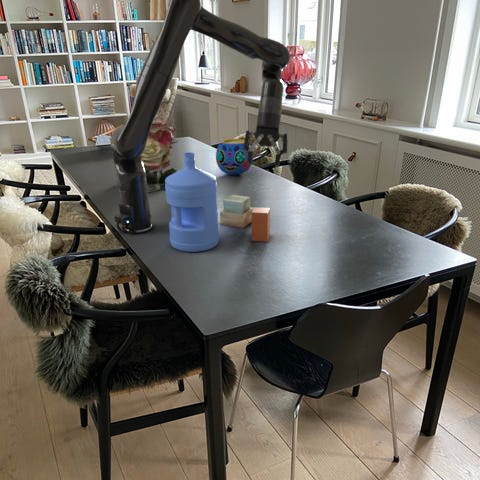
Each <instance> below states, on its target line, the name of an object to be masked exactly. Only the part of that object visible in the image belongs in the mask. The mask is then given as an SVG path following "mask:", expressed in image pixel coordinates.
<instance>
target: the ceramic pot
mask: <svg viewBox="0 0 480 480" xmlns="http://www.w3.org/2000/svg"><path fill="white" fill-rule="evenodd" d="M244 142H245V139H241V138H229V139H224V140H222V141H220V143H219V144H218V145H217V148H216V151H215V161H216V165H217V167H218V168H219V170H220V171H221V172H222V173H225V174H226V175H230V176H239V175H243V174H245V173H246V172H248V171H249V169H250V168H251V165H250V164H249V162H248V153H249V152H248V151H247V150H245V149H244ZM249 147H251V145H250V144H249Z"/></svg>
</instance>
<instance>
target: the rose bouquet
mask: <svg viewBox="0 0 480 480" xmlns="http://www.w3.org/2000/svg"><path fill="white" fill-rule="evenodd" d="M168 121H169V117H166V119H165V118H164V116H160V115H158V114H156V116H155V119H154V121H153V123H152V126H151V130H150V133H149V136H148V139H147V143H146V146H145V149H144V151H143V153H142V155H141V159H142V163H143V166H144V169H145V172H146V180H147V190H148V193H151V192H156V191H160V190H165V180H166V178H167V177H168V176H170V175H172V174H174V173H176V172H178V169H175V167H176V165H174V166H172V167H171V168H169V169H166V168H168V167H170V166H171V160H172V156H173V152H174V147H173V146H172V145H174V144H175V145H176V144H178V142H179V140H178V141H177V140H175V136H174V135H173V134H174V133H175V132H177V131H178V130H177V128H176V127H173V126H171V125H167V122H168ZM164 169H166V170H165V171H163V170H164Z"/></svg>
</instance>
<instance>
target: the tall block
mask: <svg viewBox="0 0 480 480" xmlns="http://www.w3.org/2000/svg"><path fill="white" fill-rule="evenodd" d="M253 208H254V209H253V211H252V222H251V242H267V243H268V241H269V238H270V236H271V235H270V234H271V233H270V232H271V208H270V207H257V206H256V207H253Z"/></svg>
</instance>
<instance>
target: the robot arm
mask: <svg viewBox="0 0 480 480" xmlns="http://www.w3.org/2000/svg"><path fill="white" fill-rule="evenodd" d="M191 31H192V32H196V33H199V34H202V35H204V36H206V37H208V38H211V39H213V40H214V41H216V42H218V43H220V44H222V45H224V46H226V47H228V48H229V49H231V50H233V51H235V52H237V53H239V54H240V55H242V56H244V57H246V58H248V59H250V60H255V59H256V60H260V61H261V80H262V81H261V82H262V84H261V91H260V99H259V102H258V103H259V104H258V108H257V119H256V127H255V131H250V130H246V131H245V136H244V140H245V142H244V149H245V150H247V151H248V152H249V153H248V162H249V164H250V165H253V164H254V152H255V151H256V150H257V149H258V148H259V147H261V148H262V147H263V148H265V147H267V148H272V147H273V150H274V151H275V153H276V154H275V156H274V157H275V158H274V168H278V166H280V164H281V158H282V156H283V155H286V154H287V153H288V143H289V135H288V134H287V133H284V134H282V133H281V134H280V127H281V120H282V119H281V118H282V114H283V111H282V110H283V94H284V89H285V87H284V86H285V85H284V81H283V80H282V71H283V69H285V68H286V67H287V66H288V65H289V63H290V62H291V53H290V51H289V49H288V47H286V45H284V44H283V43H281V42H280V41H277V40H275V39H272V38H269V37H265V36H261V35H259V34H258V33H256V32H254V31H253V30H251V29H249V28H247V27H246V26H245V25H242V24H239V23H237V22H234V21H231V20H228V19H225V18H223V17H221V16H218V15H216V14H214V13H212V12H211V11H209V10H208V9H206V8H204V7H203V6H202V5H201V0H168V3H167V10H166V14H165V17H164V20H163V23H162V26H161V29H160V31H159V34H157V37H156V39H155V41H154V42H153V44H152V46H151V48H150V50H149V52H148V54H147V56H146V58H145V60H144V62H143V64H142V67H141V69H140V72H139V74H138V77H137V80H136V83H135V89H134V95H133V103H132V106H131V110H130V114H129V116H128V118H127V120H126V122H125V124H124V125H120V126H118V127H115V129H114V130H113V131H112V133H111V136H110V138H111V144H110V148H111V153H112V154H111V155H112V158H113V159H112V160H113V165H114V170H115V172H116V173H115V174H116V178H117V183H118V191H119V197H120V202H119V203H118V208H119V213H118V214H115V215H114V222H115V223H116V228H117V229H118V231H119V232H122V231H124V232H126V233H129V234H132V235H134V234H142V233H146V232H149V231H150V230H152V229H153V224H152V214H151V208H150V200H149V199H150V198H149V192H148V190H147V180H146V172H145V169H144V166H143V163H142V159H141V155H142V153H143V151H144V149H145V146H146V143H147V139H148V136H149V133H150V130H151V126H152V123H153V121H154V119H155V116H156V115H158V112H159V111H160V107H161V105H162V103H163V101H164V98H165V97H166V94H167V92H168V90H169V88H170V86H171V83H172V80H173V78H174V74H175V72H176V69H177V66H178V63H179V59H180V57H181V54H182V53H181V52H182V49H183V47H184V45H185V42H186V40H187V38H188V36H189V34H190V32H191ZM253 137H254V138H255V140H254V142H253V143H252V145H250V143H251V142H250V141H251V139H253ZM279 140H280V141H281V142H282V149H280V147H279V146H278V144H277V142H278V141H279ZM249 145H250V147H249ZM120 225H121V227H120Z"/></svg>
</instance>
